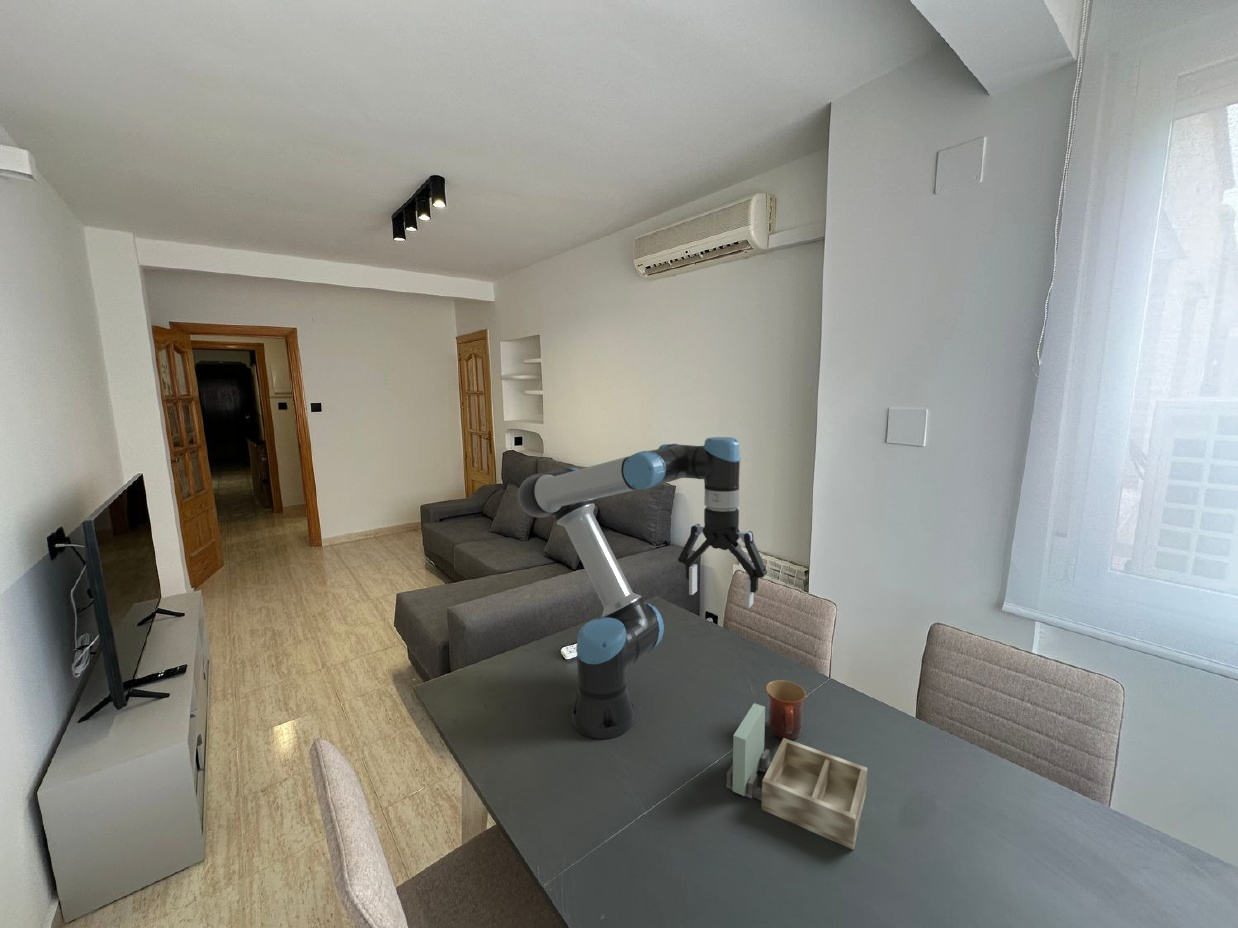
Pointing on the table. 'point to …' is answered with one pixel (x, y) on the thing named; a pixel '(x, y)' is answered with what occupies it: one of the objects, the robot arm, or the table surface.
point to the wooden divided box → (811, 790)
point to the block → (748, 748)
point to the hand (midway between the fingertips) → (720, 598)
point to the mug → (785, 708)
